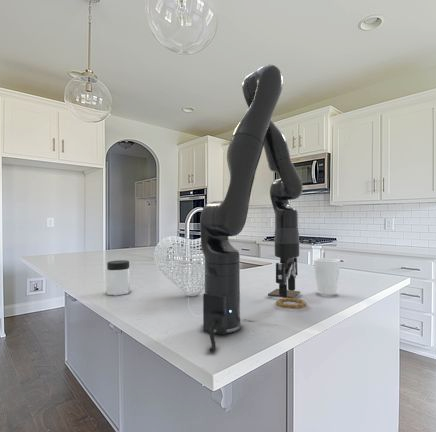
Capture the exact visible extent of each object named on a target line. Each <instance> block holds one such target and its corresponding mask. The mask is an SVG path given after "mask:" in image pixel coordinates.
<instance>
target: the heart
mask: <svg viewBox="0 0 436 432" xmlns="http://www.w3.org/2000/svg"><path fill="white" fill-rule="evenodd" d="M174 247H175V249H174ZM178 248H179V249H178ZM191 251H193V252H191ZM174 252H175V253H174ZM201 253H202V255H201ZM191 255H192V256H191ZM194 255H195V256H194ZM153 258H154V263H155V265H156V267H157V268H158V270H159V271H160V272H161V273H162V274H163V276H164V277H165V278H167V279H168V280H169V281H171V283H173V284H174V285H175V286H176V287H177V288H179V290H180V291H182V292H183V293H184V294H185V295H187V296H189V297H195V296H198V295H199V294H200V293H202V292H203V291H205V258H204V254H203V252H202V248H201V237H199V238H196V239H191V238H190V239H189V238H187V237H186V238H185V237H182V236H178V235H169V236H166V237H164V238H162V239H161V240H160V241H158V242H157V244H156V245H155V248H154V251H153ZM187 259H188V260H187ZM191 259H192V260H191ZM198 259H199V260H198Z"/></svg>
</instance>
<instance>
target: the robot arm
mask: <svg viewBox="0 0 436 432" xmlns="http://www.w3.org/2000/svg"><path fill="white" fill-rule="evenodd" d="M241 85H242V86H241V89H242V94H243V97H244V100H245V102H246V103H245V104H246V105H247V108H248V109H247V110H246V112H245V114H244V115H243V116H242V118H241V119H240V121H238V124H237V125H236V126H235V128H234V130H233V132H232V135H231V138H230V140H229V144H228V147H227V152H226V163H227V168H228V171H229V185H228V188H227V191H226V195H225V197H224V199H223V200H215V201H210V202H207V203H206V204H205V205H204V206H203V208H202V210H201V213H200V219H199V227H200V238H201V242H200V243H201V245H200V247H201V251H202V252H201V253H202V255H203V254H204V258H205V266H204V268H205V269H204V270H205V271H204V273H205V275H204V277H205V289H204V292H203V294H202V309H203V310H202V322H203V323H202V327H203V329H202V331H203V332H208V333H209V338H210V344H211V345H210V348H209V350H208V351H209V352H210V353H213V352H214V351H215V349H216V340H215V334H217V335H222V336H225V335H227V334H232V333H235V332H237V331H239V330H240V329H241V290H240V289H241V283H240V282H241V278H240V277H241V276H240V275H241V274H240V273H241V269H240V268H241V261H240V260H241V259H240V257H241V255H240V251H239V250H237V248H235V247H233V245H232V244H231V242H230V239H229V237H237V236H238V235H239V234H241V232H242V231H243V229H244V227H245V225H246V223H247V218H248V212H249V206H250V201H251V195H252V190H253V185H254V181H255V176H256V173H257V170H258V166H259V162H260V159H261V156H262V152H263V149H264V153H265V157H266V162H267V165H268V168H269V170H270V171H271V172H273V173H277V174H278V177H279V178H276V179H274V180H273V181H272V182H271V185H270V186H269V187H270V188H269V198H270V201H271V204H272V205H271V206H272V208H273V213H274V257H276V258H279V259H280V260H279V262H275V283H276V284H278V289H279V296H280V297H279V298H283V297H286V296H287V290H293V291H296V279H297V276H298V274H299V273H298V257H300V232H299V214H298V210H297V209H296V208H294V207H292V206H291V205H290V202H289V201H293V200H297V199H298V198H300V197H301V196H302V193H303V181H302V178H301V176H300V175H299V173H298V171H297V169H296V167H295V165H294V163H293V161H292V158H291V154H290V150H289V146H288V143H287V142H288V141H287V140H286V138H285V136H284V134H283V133H282V132H281V130H280V129H279V128H278V127H277V125H276V124H275V123H274V122H273V120H272V117H273V115H274V111H275V109H276V107H277V104H278V102H279V100H280V97H281V94H282V91H283V87H284V78H283V74H282V71H281V70H280V68H279V67H277V66H276V65H274V64H265V65H263V66H261V67H259V68H258V69H256V70H254V71H253V72H251V73H250V74H248V75H246V77H245V78H244V79H243V81H242V84H241ZM281 278H282V279H281Z"/></svg>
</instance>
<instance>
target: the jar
mask: <svg viewBox="0 0 436 432" xmlns="http://www.w3.org/2000/svg"><path fill="white" fill-rule="evenodd" d="M105 273H106V295H108V296H116V297H117V296H121V295H123V296H124V295H128V294H129V293H130V291H131V267H130V261H129V260H124V259H123V260H121V259H120V260H118V259H117V260H111V261H107V263H106V272H105Z"/></svg>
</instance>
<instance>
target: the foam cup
mask: <svg viewBox="0 0 436 432" xmlns="http://www.w3.org/2000/svg"><path fill="white" fill-rule="evenodd" d="M313 267H314V268H313V269H314V275H315V282H316V283H315V284H316V291H317V293H318V294H320V295H327V296H329V295H330V296H333V295H337V292H338V291H337V290H338V284H339V275H340V269H341V259H338V258H328V257H316V258H313Z"/></svg>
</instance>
